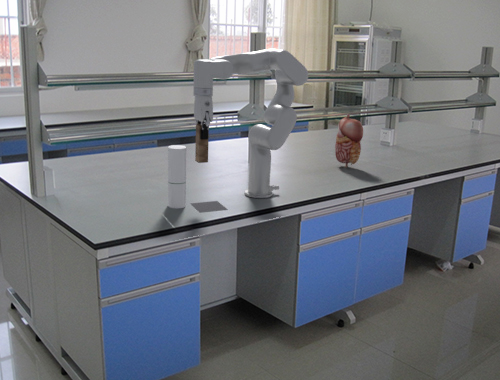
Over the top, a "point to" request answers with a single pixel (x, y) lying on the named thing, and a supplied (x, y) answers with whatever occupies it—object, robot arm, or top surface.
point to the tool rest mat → (208, 206)
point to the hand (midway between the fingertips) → (202, 137)
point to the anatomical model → (348, 140)
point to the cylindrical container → (176, 176)
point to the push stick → (201, 147)
